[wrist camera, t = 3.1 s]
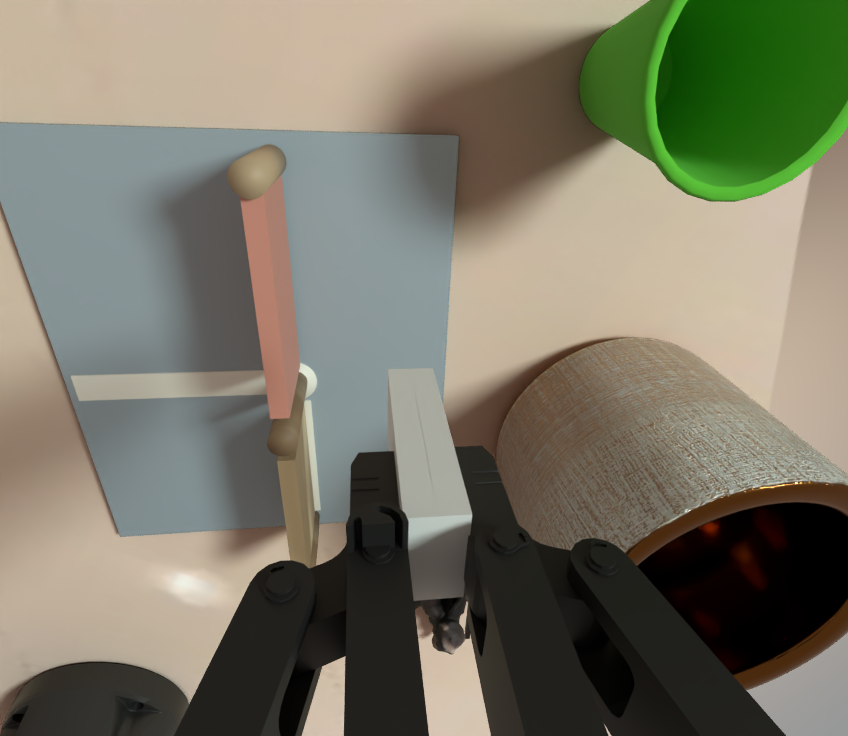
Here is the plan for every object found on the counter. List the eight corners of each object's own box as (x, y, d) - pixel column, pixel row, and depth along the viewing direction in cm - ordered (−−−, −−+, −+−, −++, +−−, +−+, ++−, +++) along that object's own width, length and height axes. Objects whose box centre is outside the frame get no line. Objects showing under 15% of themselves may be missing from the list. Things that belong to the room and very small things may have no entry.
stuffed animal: (347, 565, 42) (482, 622, 36) (405, 490, 49) (523, 529, 44) (364, 651, 47) (482, 711, 42) (413, 572, 55) (519, 615, 50)
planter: (458, 497, 41) (510, 701, 27) (553, 301, 33) (691, 445, 20) (638, 530, 45) (760, 718, 32) (756, 364, 38) (983, 516, 24)
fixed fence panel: (300, 519, 40) (289, 603, 33) (282, 366, 33) (265, 433, 27) (321, 517, 40) (314, 600, 33) (307, 365, 33) (296, 432, 27)
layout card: (123, 530, 38) (119, 537, 37) (-21, 121, 25) (-30, 122, 24) (435, 510, 41) (436, 516, 40) (457, 135, 28) (459, 135, 27)
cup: (582, -53, 24) (729, -148, 15) (733, 11, 26) (949, -36, 17) (518, 143, 28) (602, 167, 19) (654, 184, 30) (792, 226, 21)
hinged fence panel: (305, 365, 32) (294, 422, 26) (279, 365, 32) (263, 423, 26) (285, 144, 26) (266, 158, 20) (252, 143, 26) (224, 157, 20)
